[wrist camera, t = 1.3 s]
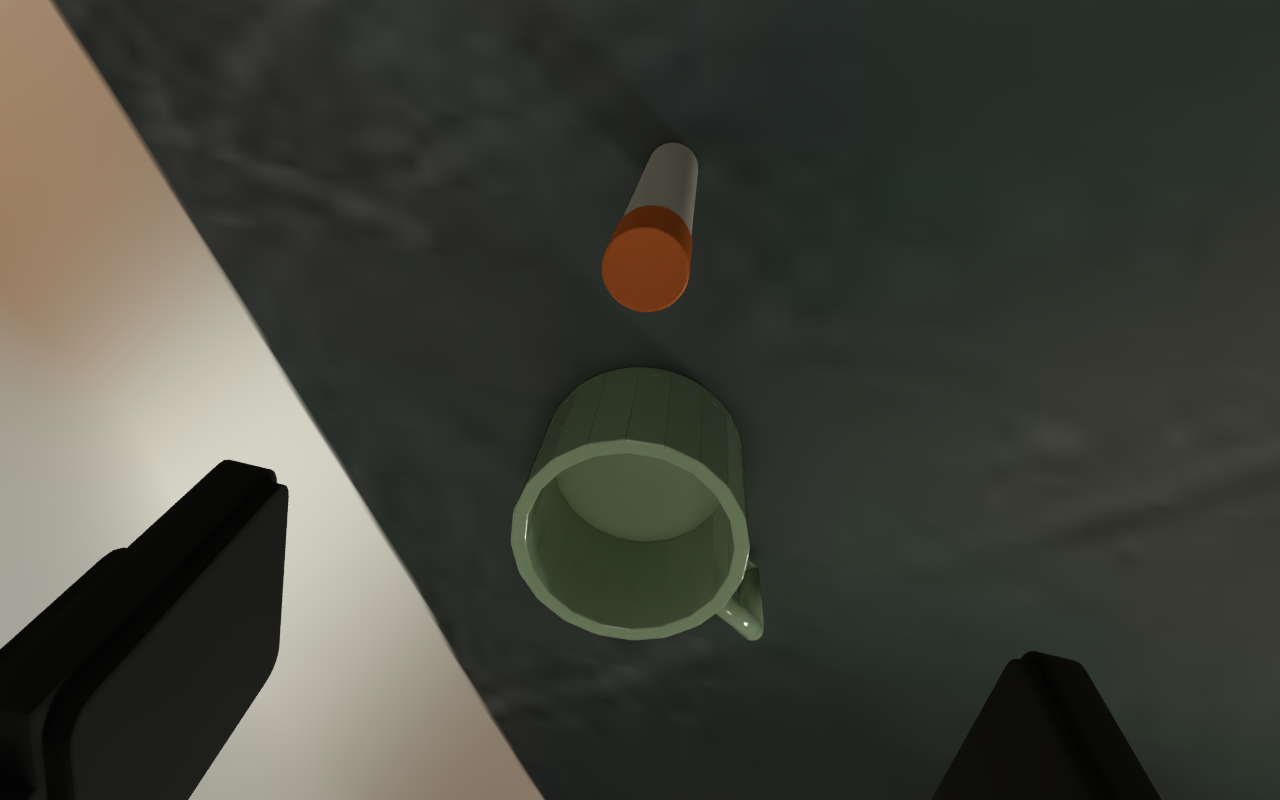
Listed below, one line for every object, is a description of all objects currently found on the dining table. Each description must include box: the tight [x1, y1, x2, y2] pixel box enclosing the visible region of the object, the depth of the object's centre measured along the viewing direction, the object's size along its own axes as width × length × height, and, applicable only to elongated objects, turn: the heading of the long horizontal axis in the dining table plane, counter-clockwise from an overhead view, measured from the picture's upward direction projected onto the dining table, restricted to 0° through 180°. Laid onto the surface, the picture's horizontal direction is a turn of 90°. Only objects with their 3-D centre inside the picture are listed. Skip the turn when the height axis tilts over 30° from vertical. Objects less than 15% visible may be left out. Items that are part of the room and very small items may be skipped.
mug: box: [511, 367, 764, 641], centre depth 36 cm, size 12×9×7 cm
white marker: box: [602, 143, 698, 312], centre depth 26 cm, size 2×2×14 cm
